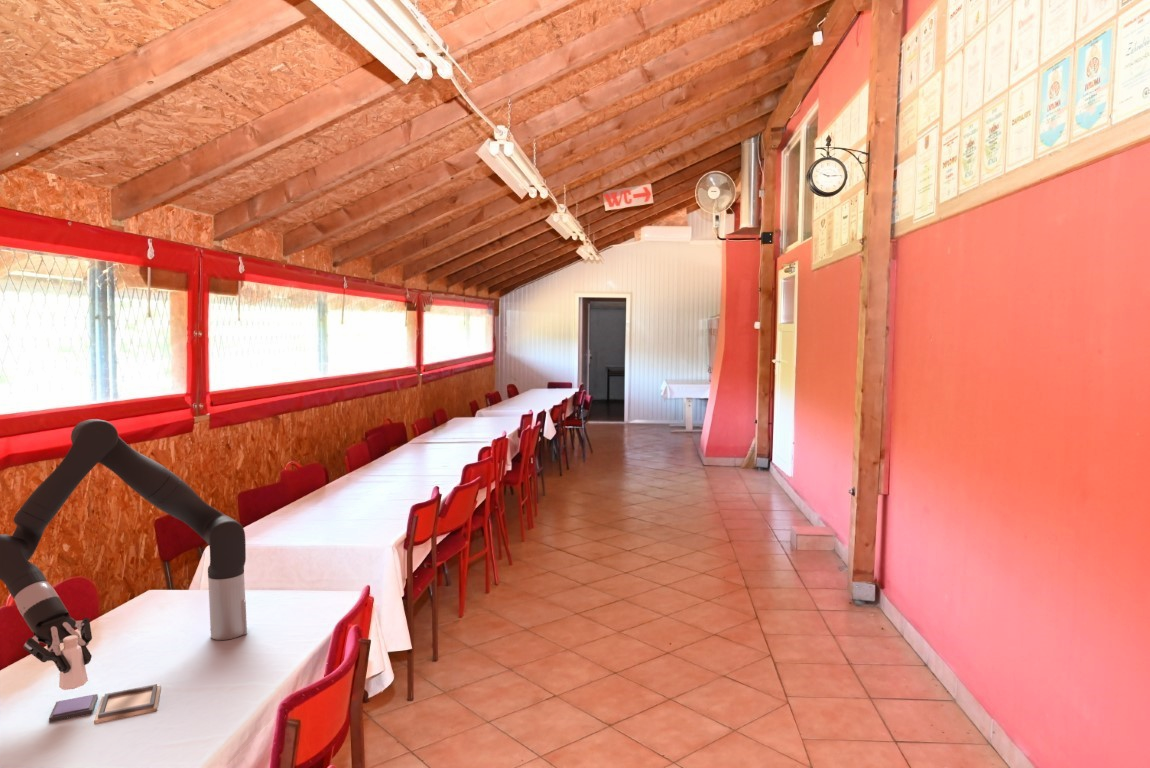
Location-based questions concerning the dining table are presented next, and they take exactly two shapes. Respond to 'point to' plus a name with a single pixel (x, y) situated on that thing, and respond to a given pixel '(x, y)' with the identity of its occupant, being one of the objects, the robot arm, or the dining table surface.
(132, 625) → the dining table surface
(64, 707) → the ink pad
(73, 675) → the pepper shaker
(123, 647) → the dining table surface
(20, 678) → the dining table surface
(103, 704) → the board
